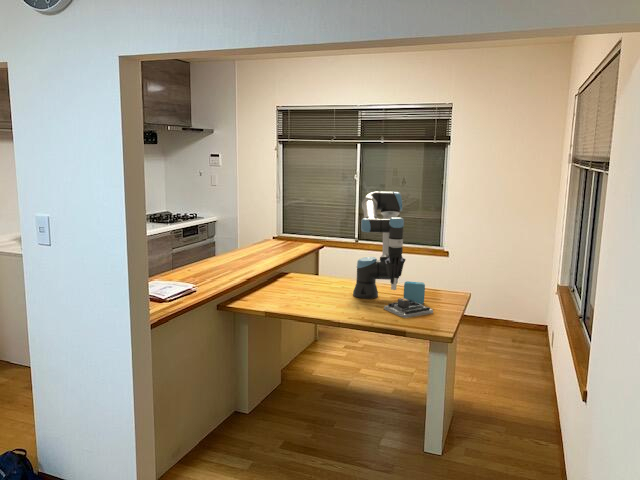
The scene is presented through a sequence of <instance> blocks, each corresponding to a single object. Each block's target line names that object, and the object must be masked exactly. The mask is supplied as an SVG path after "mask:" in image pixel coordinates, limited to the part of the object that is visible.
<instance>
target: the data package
mask: <svg viewBox="0 0 640 480" xmlns="http://www.w3.org/2000/svg"><path fill="white" fill-rule="evenodd" d="M425 293H426V284H425V282H423V281H422V282H419V281H404V284H403V297H402V298H405V299H408V300H412V301H415V302H417V303H419V304H422V305H424V303H425Z"/></svg>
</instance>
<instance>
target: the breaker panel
mask: <svg viewBox="0 0 640 480" xmlns="http://www.w3.org/2000/svg"><path fill="white" fill-rule="evenodd" d="M383 310H385V311H386V312H389V313H392V314H394V315H396V316H398V317H400V318H402V319H408V318H413V317H419V316H420V317H421V316H425V315H426V316H427V315H430V314H433V313H434V309H432V308H431V307H430V306H425V305H424V304H419V303H417V302H415V301H412V300H409V307H405V308H401V307H399V306H398V301H396V302H390V303H388V304H387V305H384V306H383Z"/></svg>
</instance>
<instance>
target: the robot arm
mask: <svg viewBox="0 0 640 480" xmlns="http://www.w3.org/2000/svg"><path fill="white" fill-rule="evenodd" d="M361 209H362V211H363V218H362V219H361V221H360V222H361V223H360V230H361V232H363V233H382V253H381V255H380V257H379V259H377V257H374V256H373V257H372V256H368V257H362V258H359V259H358V260H357V263H356V283H355V286H354V289H353V292H352V296H353V297H355V298H359V299H366V300H368V299H369V300H370V299H376V298H378V296H379V291H378V288H377V284H376V282H377V281H376V280H387V281H388V280H389V281H390V290H393V291H397V284H398V280H399V279H400V277H401V276H402V273H403V268H404V265H405V262H406V261H407V260H406V258H404V257H403V249H404V248H403V245H404V227H405V226H404V225H405V222H404V221H405V220H404V218H403V217H398V216H399V215H400V214H401V212H402V211H403V199H402V194H401V193H400V192H398V191H377V190H376V191H372V192H369V193H367V194H366V195H365V196H364V197H363V198H362V200H361ZM377 211H380V215H381V216H382V218H378V212H377Z"/></svg>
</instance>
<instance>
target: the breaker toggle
mask: <svg viewBox="0 0 640 480" xmlns="http://www.w3.org/2000/svg"><path fill="white" fill-rule="evenodd" d="M397 302H398V306H399V307H401V308H405V307H409V300H408V299H405V298H403V297H400V298H397Z"/></svg>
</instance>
